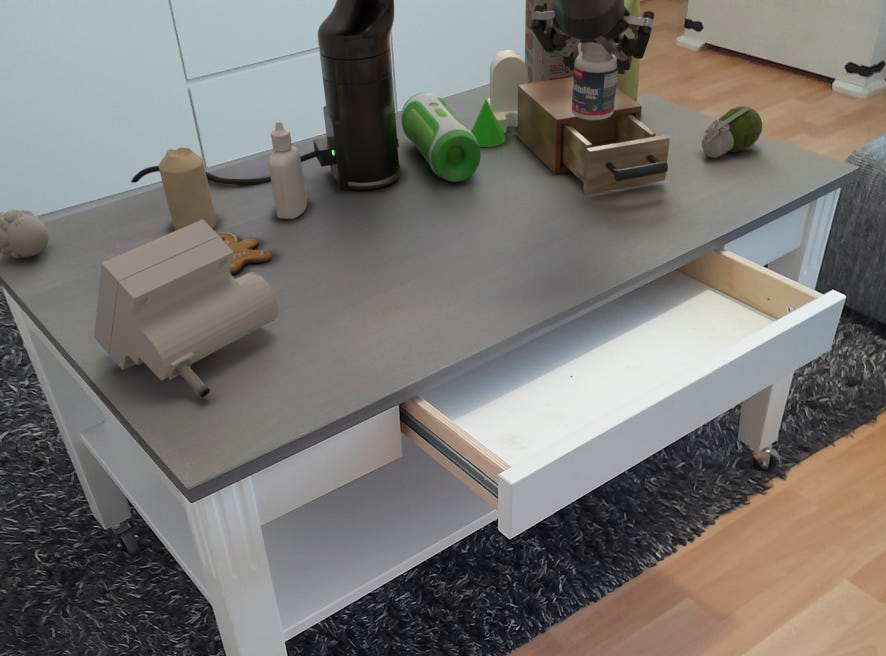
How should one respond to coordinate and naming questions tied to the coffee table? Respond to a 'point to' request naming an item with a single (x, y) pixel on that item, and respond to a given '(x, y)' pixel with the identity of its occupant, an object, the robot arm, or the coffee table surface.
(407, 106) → the speaker
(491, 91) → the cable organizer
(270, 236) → the coffee table surface
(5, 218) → the beige rounded lump
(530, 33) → the juice carton
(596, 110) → the pill bottle
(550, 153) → the wooden mini dresser
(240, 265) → the cookie
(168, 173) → the candle
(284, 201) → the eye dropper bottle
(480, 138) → the gemstone
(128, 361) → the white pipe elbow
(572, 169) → the dresser drawer
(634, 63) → the tube
